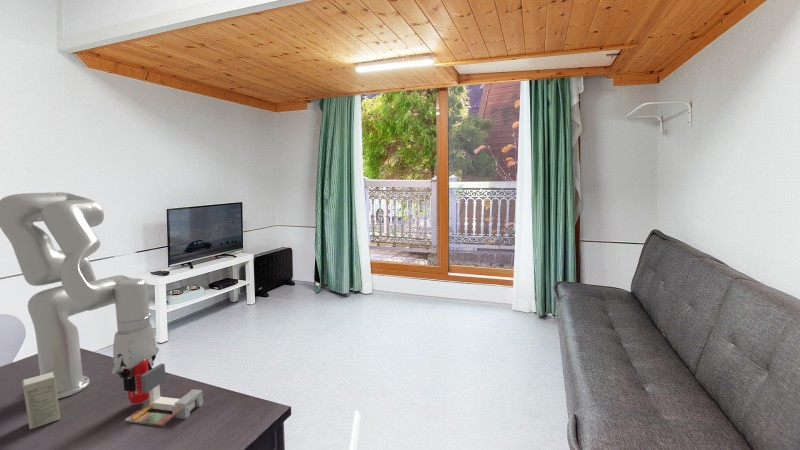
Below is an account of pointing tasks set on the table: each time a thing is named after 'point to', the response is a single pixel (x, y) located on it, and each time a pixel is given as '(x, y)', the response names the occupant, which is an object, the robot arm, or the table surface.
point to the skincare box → (41, 400)
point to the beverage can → (139, 383)
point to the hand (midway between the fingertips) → (138, 384)
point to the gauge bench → (178, 410)
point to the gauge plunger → (156, 391)
